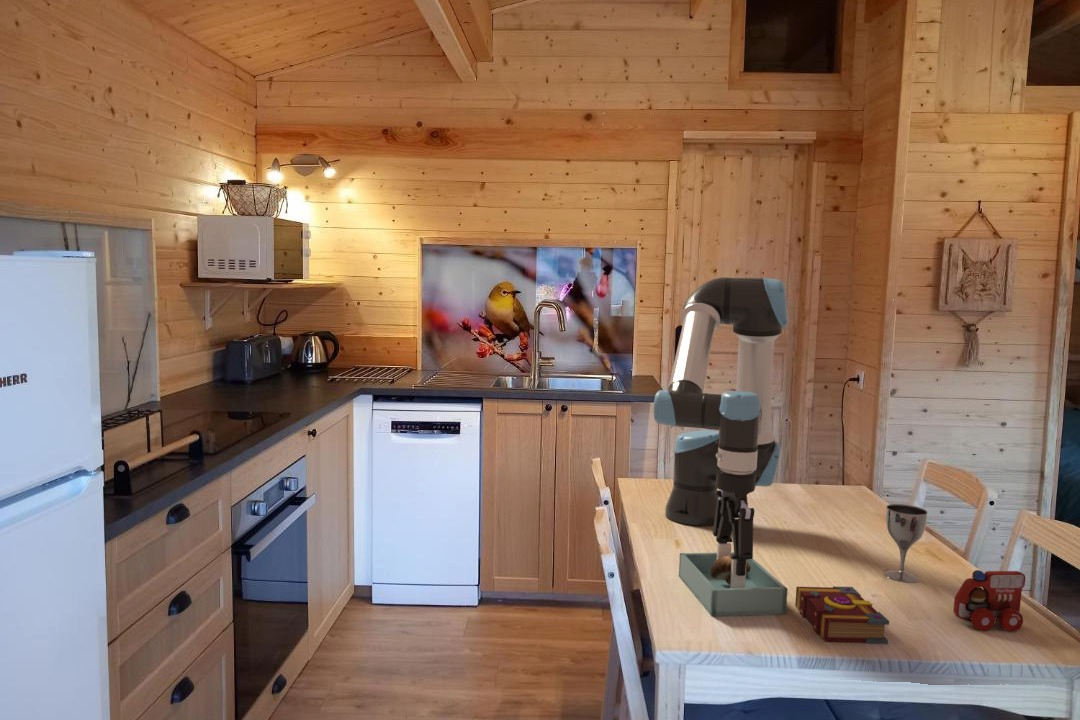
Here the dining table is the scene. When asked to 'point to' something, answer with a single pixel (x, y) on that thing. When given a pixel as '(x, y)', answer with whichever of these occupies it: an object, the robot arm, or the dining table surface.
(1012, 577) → the toy fire truck
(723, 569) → the mushroom
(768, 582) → the open rectangular box
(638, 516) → the dining table surface
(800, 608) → the decorative book
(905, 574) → the wine glass
